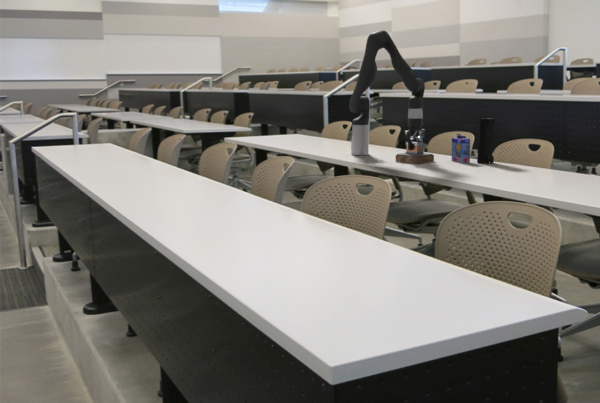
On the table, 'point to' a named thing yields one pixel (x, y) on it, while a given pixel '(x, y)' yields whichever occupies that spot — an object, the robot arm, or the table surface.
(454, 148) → the ink cartridge box
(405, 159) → the walnut stand
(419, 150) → the housing
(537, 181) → the table surface
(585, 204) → the table surface
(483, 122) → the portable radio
